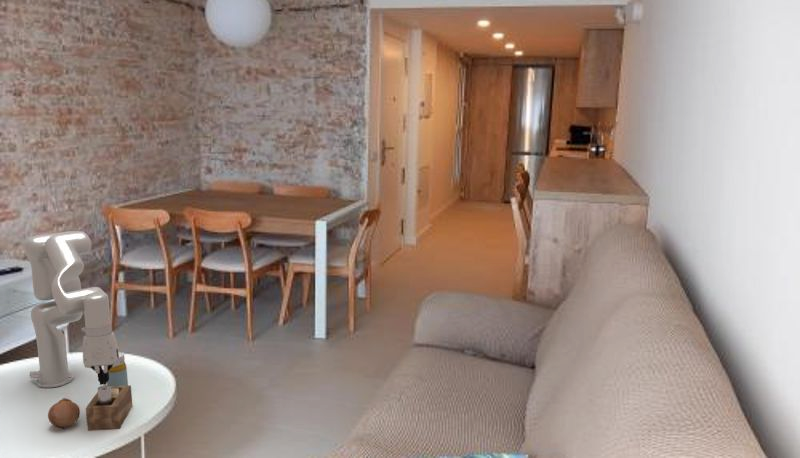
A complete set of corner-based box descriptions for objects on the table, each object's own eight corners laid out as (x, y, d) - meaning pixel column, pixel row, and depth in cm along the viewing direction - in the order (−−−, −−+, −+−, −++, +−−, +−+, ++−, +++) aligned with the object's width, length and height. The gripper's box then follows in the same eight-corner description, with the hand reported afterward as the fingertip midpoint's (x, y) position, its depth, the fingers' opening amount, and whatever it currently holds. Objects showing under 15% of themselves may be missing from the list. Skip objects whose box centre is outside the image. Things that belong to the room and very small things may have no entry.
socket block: (87, 430, 212) (85, 408, 211) (103, 408, 228) (100, 386, 226) (119, 428, 214) (117, 406, 212) (132, 406, 229) (130, 385, 228)
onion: (65, 429, 219) (66, 399, 222) (86, 426, 216) (86, 395, 218) (41, 432, 211) (41, 400, 213) (62, 429, 207) (62, 397, 210)
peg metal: (97, 411, 214) (95, 390, 212) (101, 406, 217) (99, 385, 216) (110, 411, 214) (108, 390, 213) (114, 405, 218) (112, 384, 216)
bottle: (121, 398, 235) (117, 359, 232) (103, 396, 237) (100, 358, 234) (132, 390, 242) (129, 352, 239) (115, 388, 243) (112, 350, 240)
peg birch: (106, 413, 222) (104, 393, 221) (110, 408, 226) (108, 388, 225) (118, 413, 223) (116, 392, 221) (122, 407, 227) (120, 387, 225)
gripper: (70, 335, 206) (76, 389, 209) (119, 333, 208) (124, 386, 211) (78, 327, 213) (84, 379, 216) (126, 325, 215) (130, 377, 218)
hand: (104, 383), depth 214 cm, fingers closed
